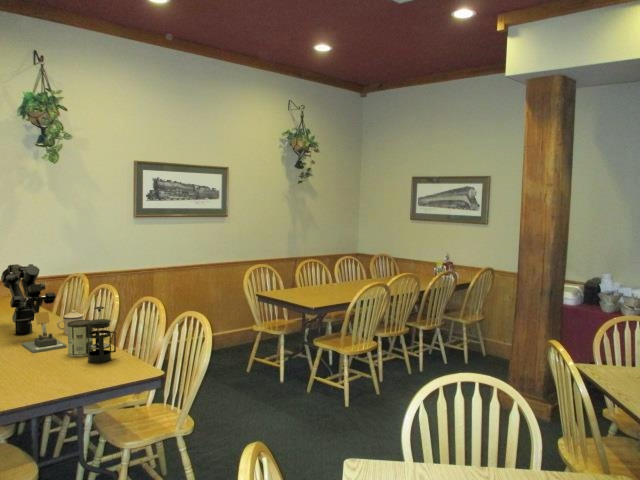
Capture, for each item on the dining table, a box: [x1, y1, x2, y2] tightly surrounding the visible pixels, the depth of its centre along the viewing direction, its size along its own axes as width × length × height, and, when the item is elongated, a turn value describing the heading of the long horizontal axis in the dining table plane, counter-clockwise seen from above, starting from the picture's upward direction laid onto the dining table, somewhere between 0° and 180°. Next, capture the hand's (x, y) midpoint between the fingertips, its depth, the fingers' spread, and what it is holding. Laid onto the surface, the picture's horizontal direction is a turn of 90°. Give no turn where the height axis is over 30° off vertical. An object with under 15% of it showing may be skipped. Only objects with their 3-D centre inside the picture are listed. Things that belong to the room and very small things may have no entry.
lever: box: [34, 311, 50, 337], centre depth 245 cm, size 2×5×11 cm, turn 134°
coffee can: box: [67, 319, 94, 358], centre depth 235 cm, size 10×10×14 cm
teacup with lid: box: [56, 309, 84, 336], centre depth 268 cm, size 12×9×12 cm
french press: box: [87, 306, 117, 365], centre depth 226 cm, size 12×9×23 cm
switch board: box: [21, 332, 67, 354], centre depth 245 cm, size 16×14×6 cm
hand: (37, 314), depth 250 cm, fingers closed
